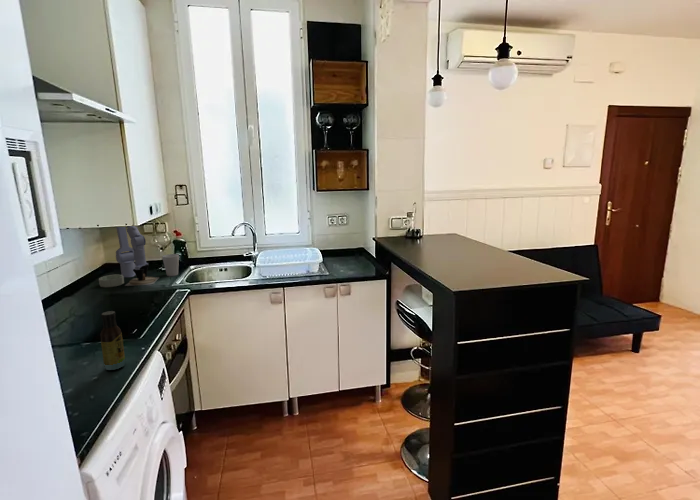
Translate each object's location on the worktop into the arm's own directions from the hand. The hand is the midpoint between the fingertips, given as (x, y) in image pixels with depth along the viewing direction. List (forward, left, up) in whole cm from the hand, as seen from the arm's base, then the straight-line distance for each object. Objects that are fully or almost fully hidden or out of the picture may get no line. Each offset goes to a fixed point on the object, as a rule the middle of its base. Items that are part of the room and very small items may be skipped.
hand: (142, 278), depth 230 cm
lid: (0, 0, -2) cm, 2 cm away
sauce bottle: (+108, +22, -2) cm, 110 cm away
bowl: (+2, -16, -2) cm, 16 cm away
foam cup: (-12, +14, -2) cm, 19 cm away
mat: (0, 0, -2) cm, 2 cm away
